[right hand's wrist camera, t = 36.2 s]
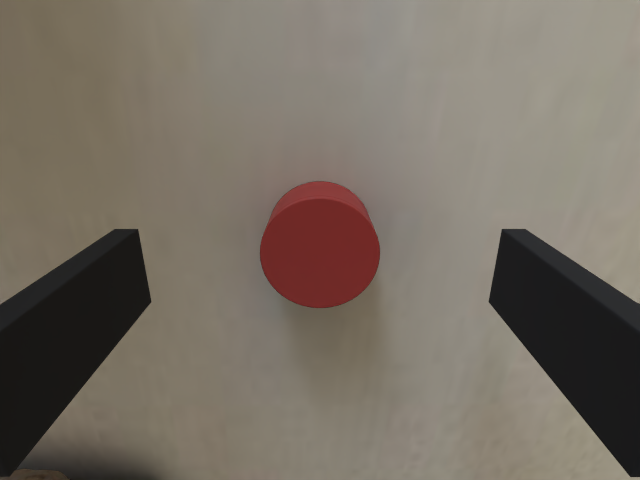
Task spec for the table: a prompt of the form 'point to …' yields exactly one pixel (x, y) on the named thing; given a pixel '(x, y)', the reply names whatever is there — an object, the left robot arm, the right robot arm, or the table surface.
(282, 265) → the cap
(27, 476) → the stone
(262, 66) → the table surface
